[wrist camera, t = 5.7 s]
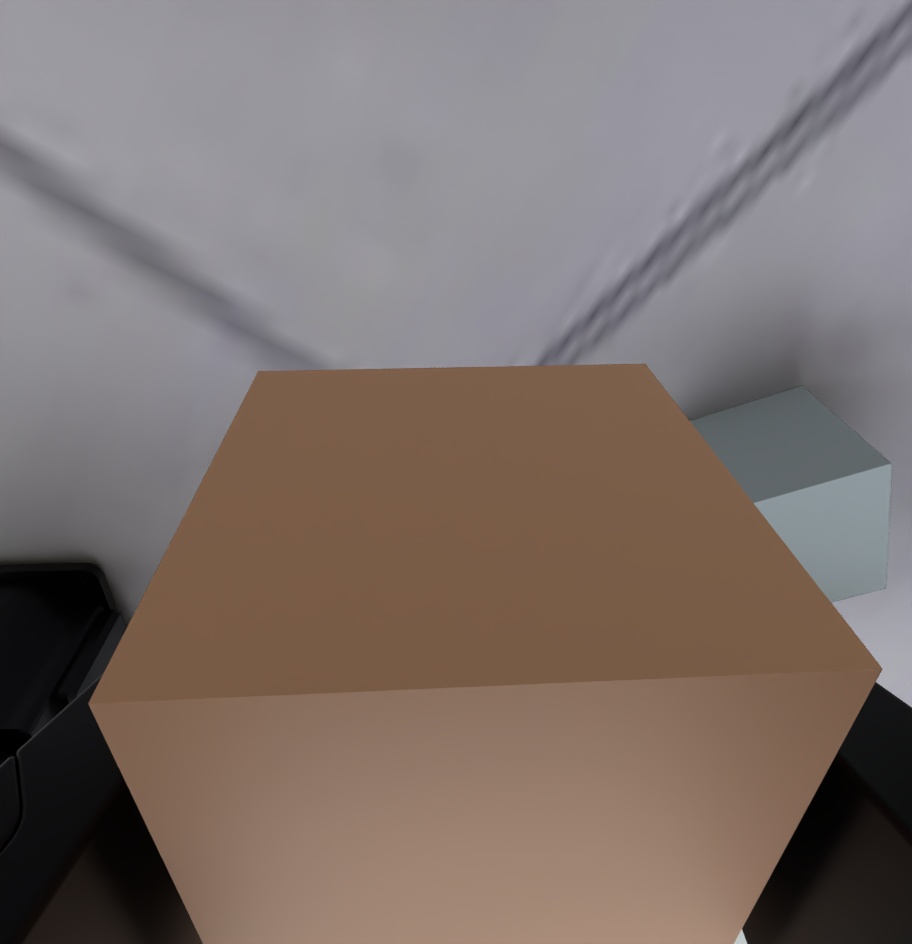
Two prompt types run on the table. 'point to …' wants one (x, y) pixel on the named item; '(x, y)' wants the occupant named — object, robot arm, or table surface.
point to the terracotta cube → (475, 669)
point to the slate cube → (810, 485)
